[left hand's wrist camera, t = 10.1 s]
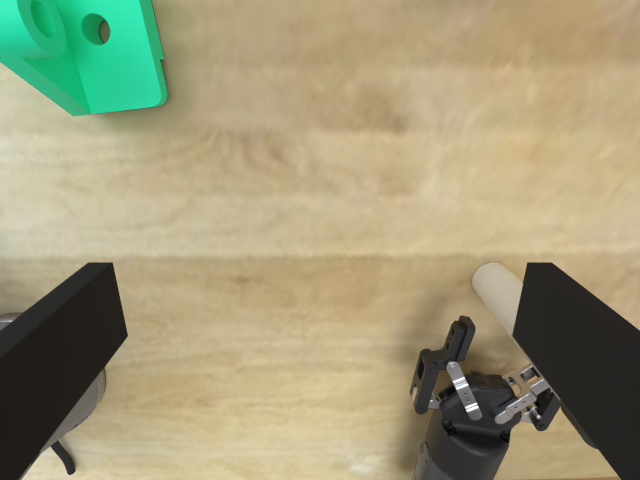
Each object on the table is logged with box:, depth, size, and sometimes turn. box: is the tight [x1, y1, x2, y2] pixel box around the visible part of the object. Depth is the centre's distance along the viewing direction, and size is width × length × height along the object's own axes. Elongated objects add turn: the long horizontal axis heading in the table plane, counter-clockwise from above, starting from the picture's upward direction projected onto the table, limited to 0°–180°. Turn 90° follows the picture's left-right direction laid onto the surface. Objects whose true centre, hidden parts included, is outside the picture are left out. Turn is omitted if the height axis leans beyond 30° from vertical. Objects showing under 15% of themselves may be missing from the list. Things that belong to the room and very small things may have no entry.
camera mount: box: [0, 0, 168, 116], centre depth 28 cm, size 12×8×10 cm, turn 6°
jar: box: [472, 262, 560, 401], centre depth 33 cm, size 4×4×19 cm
